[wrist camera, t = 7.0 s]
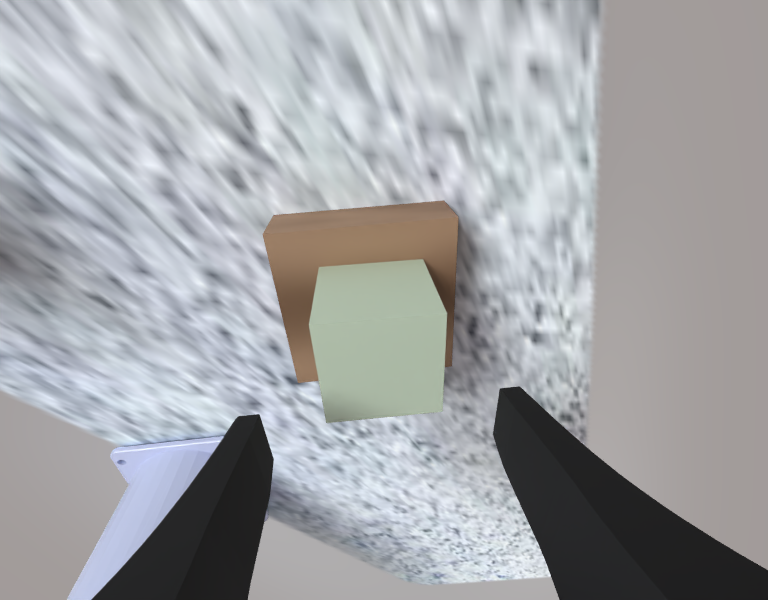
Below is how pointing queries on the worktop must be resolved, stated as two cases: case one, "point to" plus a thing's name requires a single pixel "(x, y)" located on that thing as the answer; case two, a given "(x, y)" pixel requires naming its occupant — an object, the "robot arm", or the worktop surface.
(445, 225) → the walnut block
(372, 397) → the sage cube
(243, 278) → the worktop surface
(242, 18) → the worktop surface
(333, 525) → the worktop surface
